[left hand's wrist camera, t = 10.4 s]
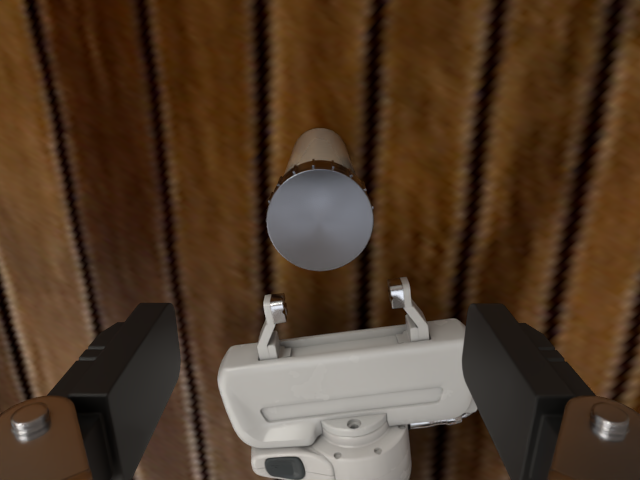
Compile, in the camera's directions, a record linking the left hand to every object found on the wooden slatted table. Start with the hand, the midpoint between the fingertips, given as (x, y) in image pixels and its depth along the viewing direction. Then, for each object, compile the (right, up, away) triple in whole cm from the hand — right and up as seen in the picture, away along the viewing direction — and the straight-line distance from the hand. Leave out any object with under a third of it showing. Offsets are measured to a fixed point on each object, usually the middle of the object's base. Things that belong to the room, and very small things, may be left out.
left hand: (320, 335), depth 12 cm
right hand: (+1, -1, +23) cm, 23 cm away
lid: (0, +3, +9) cm, 10 cm away
